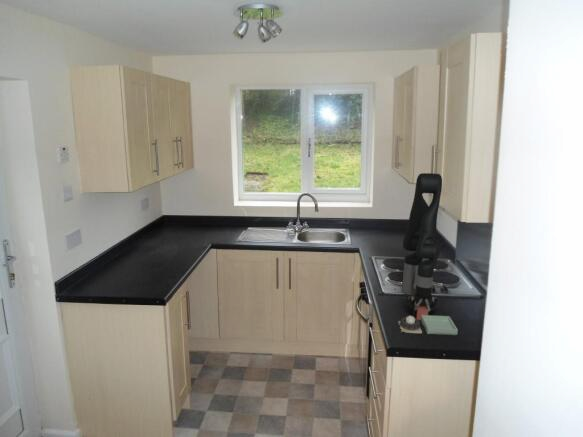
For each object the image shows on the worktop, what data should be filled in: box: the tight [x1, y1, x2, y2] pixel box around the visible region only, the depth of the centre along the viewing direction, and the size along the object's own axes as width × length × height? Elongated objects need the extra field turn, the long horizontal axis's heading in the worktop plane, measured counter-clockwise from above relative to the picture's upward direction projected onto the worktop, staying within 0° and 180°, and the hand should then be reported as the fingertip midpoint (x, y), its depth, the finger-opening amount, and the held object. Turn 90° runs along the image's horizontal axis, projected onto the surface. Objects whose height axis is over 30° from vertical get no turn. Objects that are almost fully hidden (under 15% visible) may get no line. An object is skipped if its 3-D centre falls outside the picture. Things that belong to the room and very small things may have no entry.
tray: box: [420, 314, 458, 336], centre depth 207 cm, size 13×13×3 cm
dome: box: [405, 315, 416, 324], centre depth 205 cm, size 4×4×4 cm
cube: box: [415, 306, 428, 321], centre depth 215 cm, size 5×5×5 cm
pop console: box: [397, 316, 423, 334], centre depth 205 cm, size 9×9×4 cm
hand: (420, 316), depth 216 cm, fingers closed on cube, 5 cm apart
